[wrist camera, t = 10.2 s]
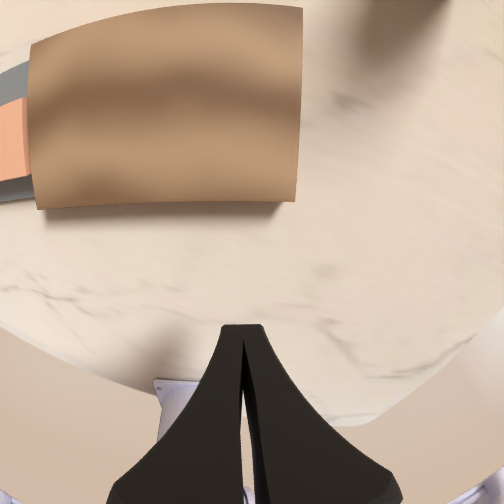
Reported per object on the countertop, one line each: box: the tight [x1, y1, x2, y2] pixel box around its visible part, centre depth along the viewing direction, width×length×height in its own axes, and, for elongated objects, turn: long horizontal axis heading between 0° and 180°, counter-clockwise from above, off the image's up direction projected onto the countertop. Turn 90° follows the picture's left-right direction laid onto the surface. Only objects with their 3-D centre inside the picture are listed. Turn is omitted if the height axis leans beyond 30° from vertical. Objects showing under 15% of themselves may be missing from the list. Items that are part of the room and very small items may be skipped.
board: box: [27, 3, 303, 210], centre depth 13 cm, size 11×16×2 cm
